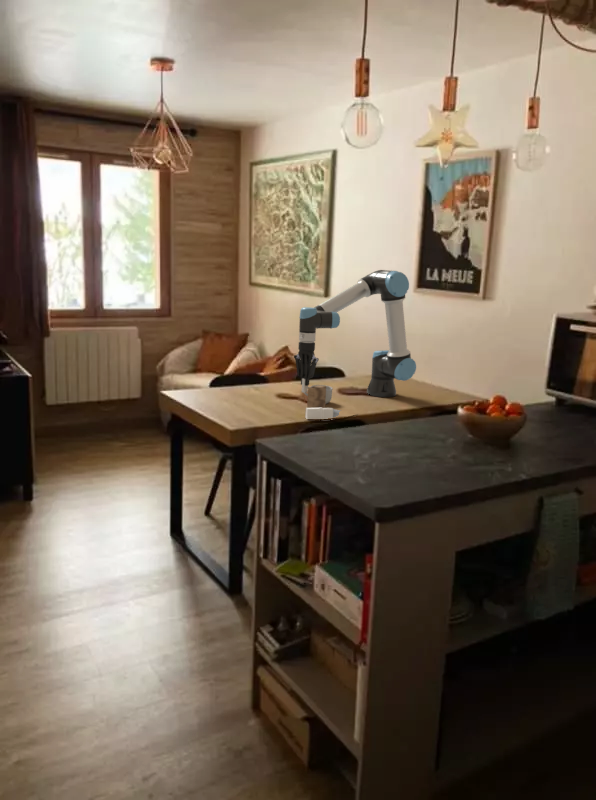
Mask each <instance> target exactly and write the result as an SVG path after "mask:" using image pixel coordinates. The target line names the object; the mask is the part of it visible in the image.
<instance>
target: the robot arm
mask: <svg viewBox="0 0 596 800" xmlns="http://www.w3.org/2000/svg"><path fill="white" fill-rule="evenodd" d="M409 289H410V282H409V279H408V277H407V275H406V274H404V273H403V272H401V271H398V270H386V269H379V270H376V271H373V272H371V273H369V274H367V275H365V276H363V277H361V278H359V279H358V281H357V282H356V283H355V284H353V285H352V286H349V287H348V288H346V289H345V290H343V291H341V292H338V293H337V294H336V295H334V296H332V297H330V298H329V299H327V300H326V301H323V302H321V303H320V304H318V305H317V306H314V307H306V306H304V307H301V309H300V312H299V329H298V330H299V331H298V333H299V334H298V350H299V351H298V353H297V354H295V355H294V356H293V358H294V360H295V366H296V367H295V368H296V374H297V376H298V377H300V386H301V393H302V394H304V393H305V392H306V393H308V387H309V385H310V379H312V378H313V377H314V375H315V371H316V368H317V363H318V362H319V358H318V357H316V356H315V349H316V334H317V333H316V331H317V329H336V328H338V327H339V326H340V322H341V317H340V314H339V312H340V311H343V310H344V309H346V308H347V307H350V306H351V305H352V304H355V303H356V302H358V301H359V300H361V299H363V298H369V297H371V296H373V295H380V300H381V302H382V303H383V304H384V309H385V318H386V320H385V321H386V326H387V329H386V330H387V337H388V339H387V340H388V347H389V350H387V349H386V350H374V351H373V353H372V363H371V375H370V376H371V378H370V380H369V384H368V386H367V389H366V394H367V393H368V394H367V395H369V394H370V395H369V396H372V397H378V398H393V397H395V396H396V395H397V390H396V389H397V388H396V384H395V381H394V380H395V379H396V381H401V382H402V381H405V382H406V381H408V380H410V379H411V378H412V377H413V376H414V375H415V373H416V370H417V363H416V361H415V360H414V359H413V358H412V357H411V351H410V350H409V349H408V345H407V338H406V337H407V336H406V326H405V323H406V322H405V313H404V301H405V299H406V294H407V293H408V290H409Z"/></svg>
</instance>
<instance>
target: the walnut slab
mask: <svg viewBox="0 0 596 800" xmlns="http://www.w3.org/2000/svg"><path fill="white" fill-rule="evenodd" d="M318 385H319V386H314V387H311V386H308V387H309V388H308V392H307V394H308V396H307V401H306V402H307V405H306V408H319V407H322V408H326V404H325V399H326V386H327V385H326V386H322V385H323V384H318Z"/></svg>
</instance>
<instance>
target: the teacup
mask: <svg viewBox="0 0 596 800" xmlns="http://www.w3.org/2000/svg"><path fill="white" fill-rule="evenodd" d="M319 385H320V384H313V385H311V386H308V388H309V387H314V386H319ZM321 385H322V386H326V399H325V405H327V404H329V403H330V402H331V401H332V398H333V397H332V396H333V389H334V388H333V386H330V385H325V384H321ZM303 394H304V395H305V396H306V397H308V392H305V393H303Z"/></svg>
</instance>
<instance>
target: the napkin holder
mask: <svg viewBox="0 0 596 800" xmlns="http://www.w3.org/2000/svg"><path fill="white" fill-rule="evenodd" d="M333 409H334V408H333V407H325V408H322V407H319V408H307V407H305V417H304V418H306V419H328V418H333ZM306 419H305V420H306Z"/></svg>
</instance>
